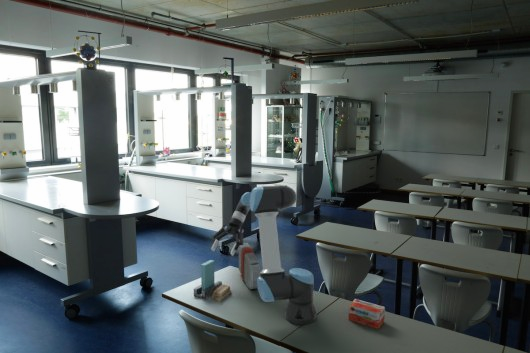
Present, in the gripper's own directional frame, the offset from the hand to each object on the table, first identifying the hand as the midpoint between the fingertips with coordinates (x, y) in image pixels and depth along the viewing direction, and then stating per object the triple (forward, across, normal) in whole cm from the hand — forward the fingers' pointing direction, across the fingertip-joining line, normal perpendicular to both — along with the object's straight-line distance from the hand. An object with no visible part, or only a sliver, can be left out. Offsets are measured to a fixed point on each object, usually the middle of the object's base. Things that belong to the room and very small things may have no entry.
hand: (221, 252), depth 227 cm
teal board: (+22, 0, -4) cm, 23 cm away
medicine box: (+11, -83, -16) cm, 85 cm away
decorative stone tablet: (+7, -12, -20) cm, 24 cm away
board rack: (+22, 0, -4) cm, 23 cm away
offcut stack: (+22, -9, -4) cm, 25 cm away
